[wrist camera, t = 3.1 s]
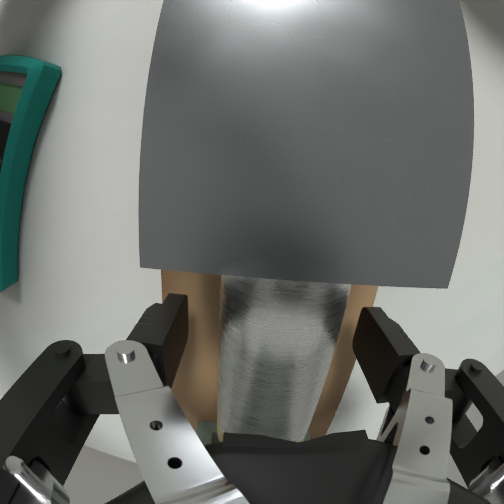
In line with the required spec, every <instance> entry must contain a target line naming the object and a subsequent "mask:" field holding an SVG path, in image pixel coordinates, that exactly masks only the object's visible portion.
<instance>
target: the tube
mask: <svg viewBox="0 0 504 504" xmlns="http://www.w3.org/2000/svg"><path fill="white" fill-rule="evenodd" d="M351 285H352V284H336V283H320V282H304V281H290V280H276V279H263V278H250V277H238V276H226V275H221V290H220V315H219V344H218V386H217V435H218V438H219V441H220V442H223V433H224V432H226V433H239V434H258V435H265V436H269V437H274V438H279V439H284V440H289V441H294V442H302V441H304V438H305V436H306V433H307V431H308V428H309V425H310V423H311V420H312V417H313V415H314V412H315V409H316V406H317V404H318V401H319V398H320V395H321V392H322V389H323V386H324V383H325V380H326V377H327V374H328V370H329V367H330V364H331V361H332V357H333V354H334V351H335V347H336V344H337V340H338V337H339V333H340V329H341V326H342V322H343V318H344V314H345V310H346V306H347V302H348V298H349V293H350V289H351Z"/></svg>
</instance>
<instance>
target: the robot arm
mask: <svg viewBox="0 0 504 504" xmlns="http://www.w3.org/2000/svg"><path fill="white" fill-rule="evenodd" d="M188 333H189V320H188V296H187V295H184V294H175V293H169V294H168V295H167V297H166V299H165V300H164V302H163V303H162V304H159V303H155V304H153V305H152V306H150V307H149V308H147V309H146V311H145V312H144V314H143V315H142V317H141V318H140V320H139V321H138V323H137V324H136V326H135V327H134V329H133V330H132V332H131V333H130V335H129V336H128V338H127V339H126V340H124V341H118V342H115V343H113V344H112V345H110V346H109V347H108V348H107V349H106V351H105V354H83V352H82V348H81V346H80V345H79V344H78V343H76V342H74V341H71V340H61V341H57V342H55V343H53V344H51V345H49V346H48V347H47V348H46V349H45V350H44V351H43V353H42V354H41V355H40V356H39V357H38V358H37V359H36V360H35V361H34V362H33V363H32V364H31V365H30V367H29V368H28V369H27V370H26V371H25V372H24V373H23V374H22V375H21V377H20V378H19V379H18V380H17V381H16V382H15V383H14V385H13V386H12V387H11V388H10V389H9V390H8V392H7V393H6V394H5V395H4V396H3V398H2V399H1V400H0V504H69V503H70V501H69V495H68V493H67V491H66V489H65V488H64V487H63V485H64V483H65V481H66V479H67V477H68V475H69V473H70V471H71V469H72V467H73V465H74V463H75V461H76V459H77V457H78V455H79V453H80V451H81V449H82V447H83V445H84V443H85V441H86V439H87V437H88V435H89V433H90V432H91V430H92V428H93V426H94V424H95V422H96V420H97V418H98V417H99V415H100V414H120V417H121V420H122V423H123V426H124V429H125V432H126V435H127V438H128V441H129V443H130V446H131V449H132V451H133V454H134V456H135V459H136V462H137V464H138V466H139V469H140V471H141V473H142V476H143V478H144V481H143V482H141V483H139V484H138V485H136V486H135V487H133V488H131V489H130V490H128V491H126V492H125V493H123V494H121V495H119V496H118V497H116V498H114V499H113V500H111V501H109V502H107V503H106V504H504V387H503V385H502V384H501V383H500V382H499V381H498V380H497V378H496V377H495V376H494V375H493V374H492V373H491V372H490V371H489V369H488V368H487V367H486V366H485V365H484V364H482V363H481V362H479V361H477V360H474V359H465V360H463V361H462V363H461V365H460V367H459V369H458V370H455V369H445V366H444V364H443V362H442V361H441V360H440V359H438V358H437V357H435V356H433V355H430V354H427V353H420V351H419V350H418V349H417V347H416V346H415V345H414V344H413V342H412V341H411V340H410V338H408V336H407V334H406V333H405V332H404V331H403V329H402V328H401V327H400V325H399V324H397V323H396V322H395V321H393V320H392V319H390V318H388V316H387V315H386V314H385V313H384V311H383V310H382V309H381V308H380V307H363V308H362V310H361V312H360V315H359V319H358V323H357V326H356V330H355V333H354V336H353V341H352V347H353V352H354V354H355V356H356V358H357V360H358V362H359V365H360V367H361V369H362V371H363V373H364V375H365V378H366V380H367V382H368V384H369V386H370V389H371V391H372V393H373V395H374V398H375V400H376V402H377V403H385V402H389V404H390V405H389V407H388V409H387V410H386V413H385V416H384V419H383V422H382V425H381V428H380V431H379V434H378V437H377V440H372V439H368V437H367V434H366V431H365V430H359V431H350V432H340V433H332V434H329V435H325V436H322V437H318V438H314V439H311V440H307V441H302V442H294V441H289V440H284V439H279V438H274V437H269V436H265V435H258V434H239V433H226V432H224V433H223V442H218V443H212V444H207V445H204V446H203V444H202V443H201V441H200V439H199V438H198V436H197V435H196V433H195V431H194V430H193V428H192V426H191V425H190V423H189V421H188V419H187V418H186V416H185V414H184V412H183V411H182V409H181V407H180V405H179V404H178V402H177V400H176V398H175V396H174V394H173V392H172V391H171V388H172V385H173V382H174V379H175V376H176V373H177V370H178V367H179V364H180V361H181V358H182V355H183V352H184V349H185V346H186V344H187V340H188ZM62 399H63V400H62ZM59 403H60V404H59ZM472 403H474V404H475V406H476V407H477V408H478V410H479V411H480V413H481V414H482V416H483V425H482V427H481V429H480V430H479V431H478V432H477V431H476V429H475V428H474V426H473V425H472V423H471V422H470V420H469V419H468V417H467V416H466V414H465V413H466V412H467V410H468V409H469V407H470V406H471V404H472ZM57 406H58V407H57ZM449 452H450V454H451V456H452V458H453V460H454V462H455V463H456V465H457V467H458V469H459V471H460V473H461V475H462V477H463V479H464V481H465V483H466V485H467V487H468V489H469V490H468V489H466V488H464V487H462V486H461V485H459V484H457V483H455V482H453V481H451V480H450V479H448V478H446V474H447V467H448V460H449Z"/></svg>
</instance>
